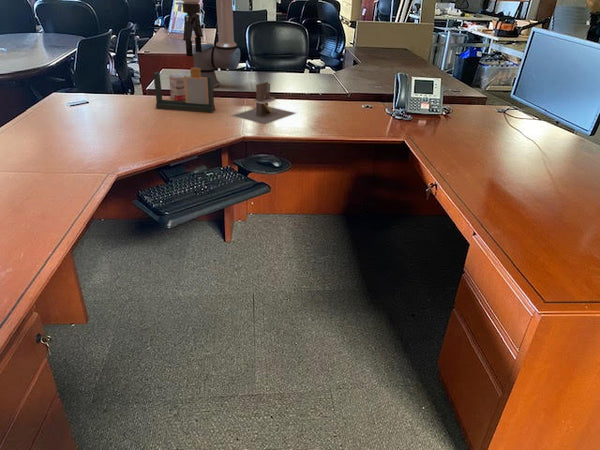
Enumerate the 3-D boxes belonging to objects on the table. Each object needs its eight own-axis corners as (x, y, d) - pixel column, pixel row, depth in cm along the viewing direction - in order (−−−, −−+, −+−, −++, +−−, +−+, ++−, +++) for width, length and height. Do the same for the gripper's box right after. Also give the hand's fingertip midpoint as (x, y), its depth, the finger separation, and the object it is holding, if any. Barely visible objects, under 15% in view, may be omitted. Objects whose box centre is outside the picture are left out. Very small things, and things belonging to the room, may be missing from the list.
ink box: (186, 100, 234) (184, 76, 228) (177, 101, 231) (175, 77, 226) (179, 96, 240) (177, 73, 234) (170, 97, 237) (168, 74, 231)
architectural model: (295, 113, 222) (296, 83, 215) (264, 123, 204) (265, 91, 197) (264, 105, 232) (264, 76, 224) (232, 115, 213) (231, 84, 206)
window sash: (187, 102, 219) (184, 66, 210) (210, 104, 218) (208, 68, 210) (185, 104, 216) (182, 68, 208) (208, 106, 216) (206, 69, 207)
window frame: (160, 105, 222) (157, 71, 214) (214, 109, 221) (213, 75, 213) (156, 108, 217) (152, 73, 209) (211, 113, 215) (209, 77, 207)
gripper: (191, 1, 206) (194, 49, 217) (173, 3, 185) (177, 57, 195) (207, 2, 206) (209, 50, 216) (190, 4, 184) (194, 58, 194)
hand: (194, 54), depth 205 cm, fingers open, 13 cm apart
